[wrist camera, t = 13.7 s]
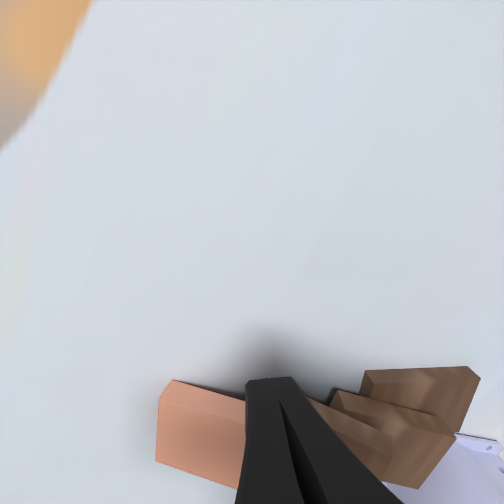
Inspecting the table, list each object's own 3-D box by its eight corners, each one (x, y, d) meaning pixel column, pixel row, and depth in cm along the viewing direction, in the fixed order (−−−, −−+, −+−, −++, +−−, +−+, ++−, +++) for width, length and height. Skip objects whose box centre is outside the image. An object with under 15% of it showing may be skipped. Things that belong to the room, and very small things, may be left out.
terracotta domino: (171, 379, 20) (299, 417, 19) (167, 439, 22) (284, 478, 21) (159, 398, 19) (297, 440, 17) (155, 461, 21) (280, 504, 19)
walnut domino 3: (337, 389, 21) (442, 418, 23) (307, 443, 23) (407, 467, 24) (344, 409, 20) (457, 438, 21) (312, 465, 22) (418, 489, 23)
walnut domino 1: (265, 377, 21) (392, 436, 19) (249, 435, 23) (364, 496, 21) (256, 392, 20) (392, 457, 18) (240, 453, 22) (363, 521, 19)
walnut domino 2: (362, 366, 23) (463, 362, 24) (349, 420, 25) (444, 414, 26) (374, 383, 21) (480, 378, 23) (358, 439, 23) (458, 431, 24)
